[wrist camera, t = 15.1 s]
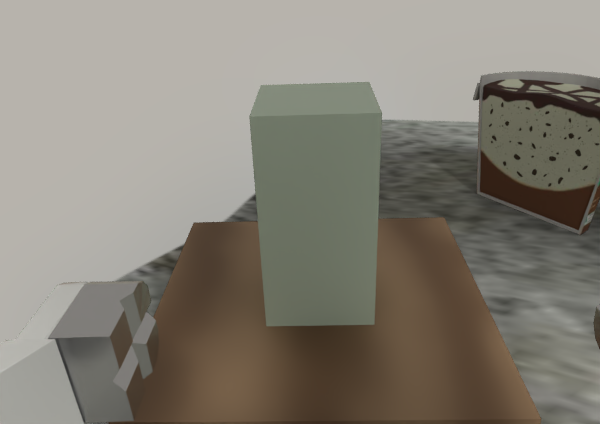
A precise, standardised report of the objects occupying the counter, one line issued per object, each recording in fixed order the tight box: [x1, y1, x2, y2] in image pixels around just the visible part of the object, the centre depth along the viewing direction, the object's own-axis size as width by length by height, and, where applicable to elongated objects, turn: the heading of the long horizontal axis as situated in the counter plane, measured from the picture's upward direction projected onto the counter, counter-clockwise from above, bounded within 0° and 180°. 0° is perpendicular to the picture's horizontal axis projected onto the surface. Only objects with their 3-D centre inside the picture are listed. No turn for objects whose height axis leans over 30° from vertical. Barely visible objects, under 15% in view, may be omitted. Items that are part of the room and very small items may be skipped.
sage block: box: [250, 82, 382, 326], centre depth 24 cm, size 5×5×10 cm
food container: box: [473, 71, 600, 235], centre depth 42 cm, size 12×6×10 cm, turn 35°
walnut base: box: [109, 217, 541, 424], centre depth 28 cm, size 16×16×4 cm
